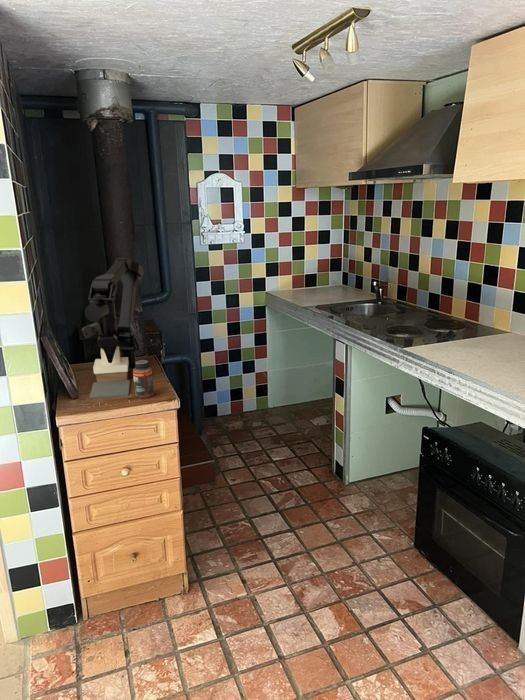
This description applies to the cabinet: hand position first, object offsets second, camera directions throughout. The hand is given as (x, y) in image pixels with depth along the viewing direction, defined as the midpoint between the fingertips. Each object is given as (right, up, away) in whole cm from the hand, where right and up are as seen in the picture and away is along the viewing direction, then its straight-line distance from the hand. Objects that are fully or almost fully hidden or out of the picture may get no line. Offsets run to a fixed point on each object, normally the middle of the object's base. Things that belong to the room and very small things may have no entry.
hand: (110, 359), depth 188 cm
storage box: (0, -7, +2) cm, 7 cm away
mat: (+2, -10, -9) cm, 14 cm away
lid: (0, -3, +1) cm, 4 cm away
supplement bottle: (+15, -12, -15) cm, 24 cm away
